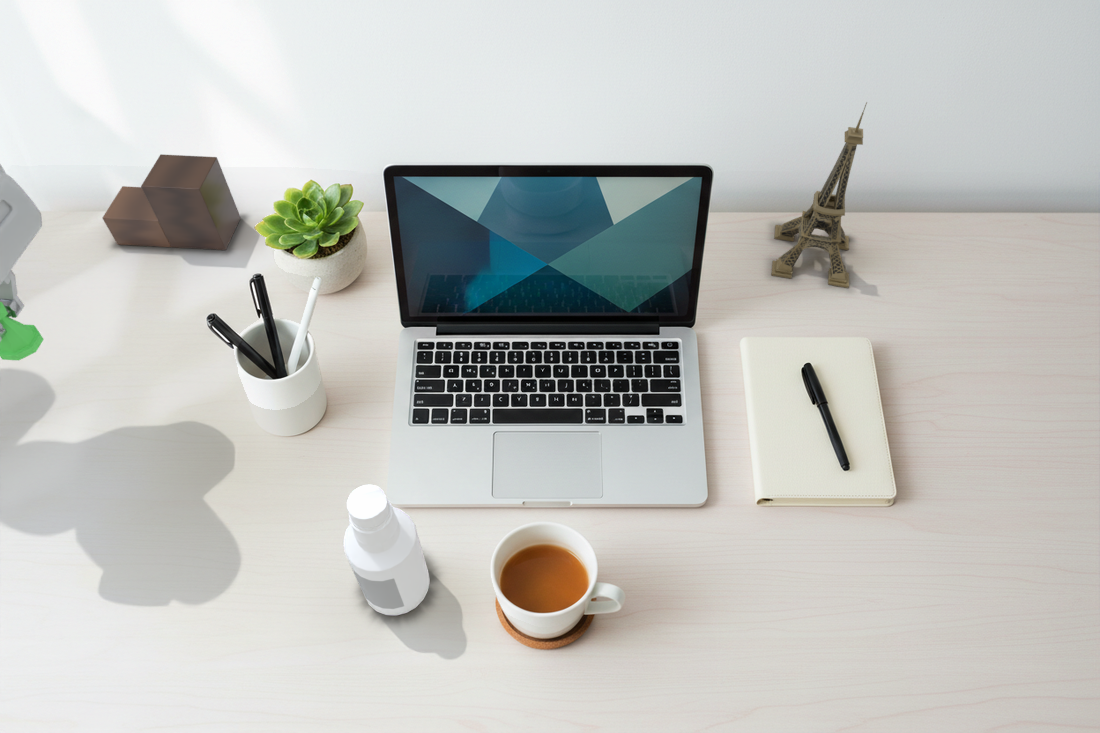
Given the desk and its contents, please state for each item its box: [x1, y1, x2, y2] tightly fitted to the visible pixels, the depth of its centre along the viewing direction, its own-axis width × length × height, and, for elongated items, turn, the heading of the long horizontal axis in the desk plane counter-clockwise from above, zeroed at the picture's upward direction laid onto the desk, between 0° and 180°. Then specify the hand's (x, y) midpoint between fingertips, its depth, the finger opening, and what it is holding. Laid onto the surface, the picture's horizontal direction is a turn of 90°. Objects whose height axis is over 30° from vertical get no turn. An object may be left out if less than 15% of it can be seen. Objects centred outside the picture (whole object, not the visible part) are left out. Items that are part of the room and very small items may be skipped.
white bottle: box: [342, 484, 431, 616], centre depth 74 cm, size 7×7×18 cm
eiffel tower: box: [770, 101, 868, 289], centre depth 102 cm, size 11×11×25 cm
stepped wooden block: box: [102, 154, 242, 251], centre depth 110 cm, size 16×7×11 cm, turn 86°
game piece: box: [0, 302, 44, 361], centre depth 76 cm, size 4×4×6 cm
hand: (5, 325), depth 76 cm, fingers closed on game piece, 2 cm apart
